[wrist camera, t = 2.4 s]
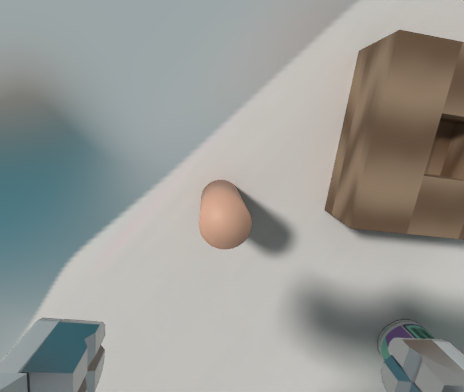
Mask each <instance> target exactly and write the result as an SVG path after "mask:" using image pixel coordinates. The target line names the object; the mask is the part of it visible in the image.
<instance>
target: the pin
mask: <svg viewBox="0 0 464 392" xmlns="http://www.w3.org/2000/svg"><path fill="white" fill-rule="evenodd" d="M199 228H200V232H201V235H202V237H203V238H204V240H205V241H206V242H207V243H208V244H210V245H211V246H213V247H215V248H219V249H231V248H234V247H237V246H239V245H240V244H242V243H243V242H244V241H245V240H246V239H247V237H248V236H249V234H250V231H251V228H252V220H251V216H250V213H249V211H248V209H247V207H246V206H245V204H244V202H243V200H242V198H241V196H240V194H239V192H238V190H237V188H236V187H235V186H234V185H233V184H232V183H230V182H228V181H225V180H217V181H213V182H211V183H210V184H208V185H207V186H206V187H205V189H204V190H203V192H202V196H201V208H200V221H199Z"/></svg>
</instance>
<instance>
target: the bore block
mask: <svg viewBox="0 0 464 392" xmlns="http://www.w3.org/2000/svg"><path fill="white" fill-rule="evenodd" d="M325 211H327V212H328V213H330V214H331V215H333V216H334V217H336V218H337V219H338V220H340V221H341V222H343V223H344V224H346V225H347V226H349V227H350V228H352V229H363V230H373V231H383V232H393V233H403V234H413V235H423V236H433V237H443V238H453V239H463V240H464V42H460V41H455V40H449V39H444V38H439V37H434V36H429V35H424V34H419V33H413V32H408V31H403V30H398V31H397V32H395V33H393V34H391V35H389V36H387V37H385V38H383V39H381V40H379V41H377V42H375V43H373V44H372V45H370V46H368V47H366V48H364V49H362V50H360V51H359V54H358V58H357V63H356V67H355V72H354V77H353V81H352V86H351V91H350V95H349V100H348V104H347V109H346V114H345V118H344V123H343V128H342V132H341V137H340V141H339V146H338V151H337V155H336V160H335V165H334V169H333V174H332V178H331V183H330V188H329V192H328V197H327V202H326V206H325Z"/></svg>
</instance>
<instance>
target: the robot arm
mask: <svg viewBox="0 0 464 392" xmlns="http://www.w3.org/2000/svg"><path fill="white" fill-rule="evenodd" d="M104 337H105V324H104V322H97V321H84V320H71V319H53V318H42V319H40V320H38V321H36V322H35V323H34V325H33V326H32V327H31V328H30V329H29V330H28V331H27V332H26V334H25V335H24V336H23V337H22V338H21V339H20V340H19V341H18V343H17V344H16V345H15V346H14V347H13V348H12V349H11V351H10V352H9V353H8V354H7V355H6V356H5V357H4V358H3V360H2V361H1V362H0V392H95V390H96V388H97V385H98V383H99V380H100V377H101V373H102V369H103V364H104V357H105V349H104V348H103V347H102V346H101V343H102V341H103V339H104ZM388 351H389V353H390V356H389V357H388V358H387V359H386V360H385V361H384V362H383V366H382V369H381V375H382V382H383V384H384V387H385V389H386V391H387V392H464V355H463V354H462V353H461V352H460V351H459V350H458V349H457V348H455V347H454V346H453V345H452V344H451V343H450V342H448V341H446V340H443V339H416V338H393V339H392V340H391V341H390V343H389V346H388Z"/></svg>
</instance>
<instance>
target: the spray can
mask: <svg viewBox="0 0 464 392" xmlns="http://www.w3.org/2000/svg"><path fill="white" fill-rule="evenodd" d="M393 338H416V339H435V338H434V337H433V336H432V335H431V334H429V333H428V332H427V331H426V330H425V329H424V328H423V327H422V326H420V325H419V324H418V323H417V322H415V321H413V320H398V321H395V322H393V323H391V324H390V325H388V326H387V327H386V328H385V329H384V330H383V331H382V333H381V334H380V336H379V338H378V343H377V347H378V351H379V353H380V354H381V355H382V357H383V358H384V360H386V359H387V358H388V357H389V356H390V353H389V351H388V346H389V343H390V341H391V340H392V339H393Z"/></svg>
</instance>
